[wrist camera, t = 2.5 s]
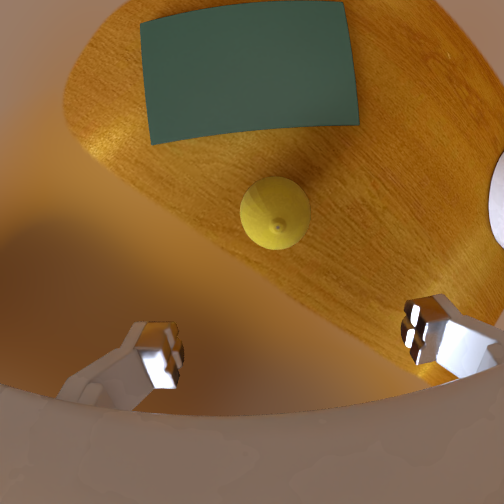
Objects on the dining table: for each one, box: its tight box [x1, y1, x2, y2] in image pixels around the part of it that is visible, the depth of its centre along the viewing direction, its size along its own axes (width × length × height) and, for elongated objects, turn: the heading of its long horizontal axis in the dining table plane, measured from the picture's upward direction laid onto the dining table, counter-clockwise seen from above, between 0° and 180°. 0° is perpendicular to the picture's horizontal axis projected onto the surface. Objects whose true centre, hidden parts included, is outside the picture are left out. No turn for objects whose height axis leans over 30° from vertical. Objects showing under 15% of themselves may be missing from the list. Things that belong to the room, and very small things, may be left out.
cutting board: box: [140, 1, 360, 145], centre depth 22 cm, size 18×12×2 cm, turn 96°
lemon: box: [240, 176, 311, 250], centre depth 24 cm, size 6×6×8 cm
